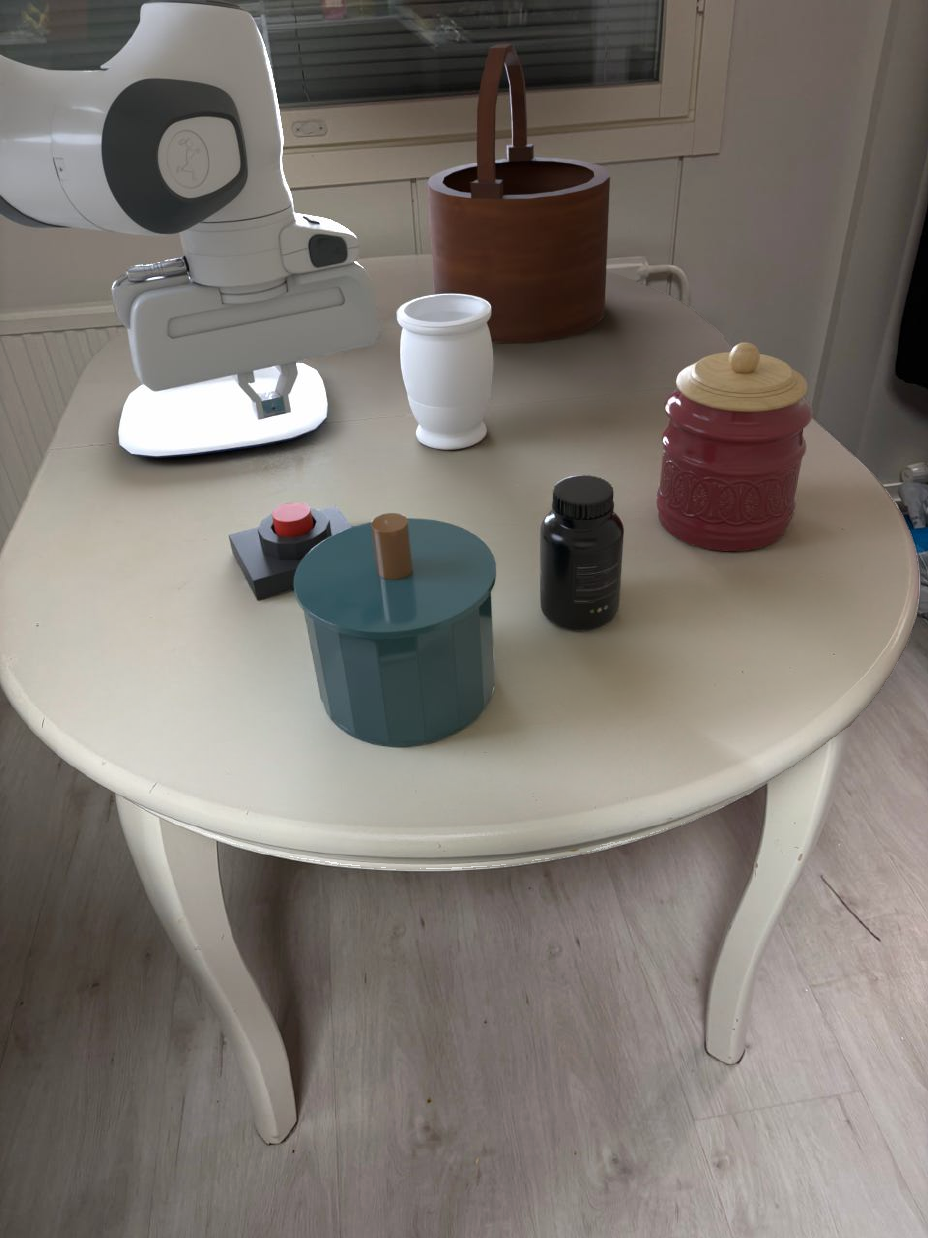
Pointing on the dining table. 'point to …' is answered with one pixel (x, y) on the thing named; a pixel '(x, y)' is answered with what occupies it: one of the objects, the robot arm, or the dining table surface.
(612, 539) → the supplement bottle
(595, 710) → the dining table surface
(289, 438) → the plate
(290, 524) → the release button
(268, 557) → the box
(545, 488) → the dining table surface
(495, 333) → the wooden bucket
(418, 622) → the jar lid
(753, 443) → the kitchen canister
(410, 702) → the storage jar
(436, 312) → the jar
